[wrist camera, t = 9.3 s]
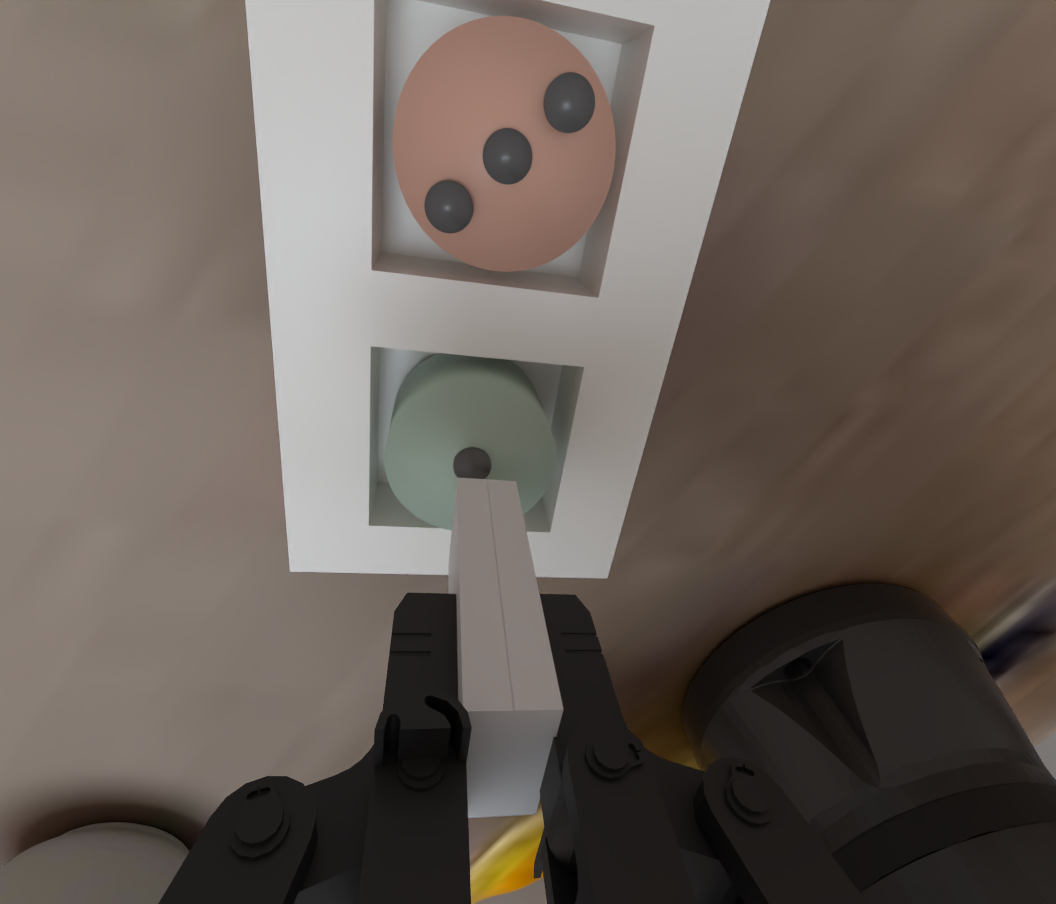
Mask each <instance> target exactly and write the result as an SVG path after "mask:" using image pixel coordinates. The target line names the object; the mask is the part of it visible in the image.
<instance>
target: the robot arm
mask: <svg viewBox="0 0 1056 904" xmlns="http://www.w3.org/2000/svg"><path fill="white" fill-rule="evenodd" d="M601 651H602V650H601V646H600V643H599V640H598V637H596V630H595V627H594V624H593V621H592V617H591V614H590V612H589V611H588V610H587V608H586V607H585V606H584V605H583V604H582V602H581V601H580V600H579V599H578V598H577V596H576V595H561V594H539V589H538V584H537V580H536V575H535V570H534V565H533V560H532V556H531V551H530V546H529V541H528V536H527V531H526V527H525V522H524V517H523V512H522V507H521V503H520V498H519V493H518V488H517V483H516V481H507V480H490V479H473V478H457V482H456V492H455V502H454V512H453V523H452V533H451V543H450V553H449V563H448V594H439V593H407V594H406V595H405V597H404V598H403V600H402V601H401V603H400V604H399V606H398V607H397V608H396V610H395V611H394V620H393V628H392V637H391V645H390V655H389V662H388V670H387V679H386V687H385V696H384V704H383V711H382V712H381V713H380V716H379V719H378V722H377V725H376V728H375V736H374V745H373V746H372V748H371V749H370V751H369V752H368V753H367V754H366V755H365V756H364V757H363V759H362V760H360V761H359V762H358V763H356V764H355V765H354V766H352V767H351V768H350V769H348V770H345V771H343V772H341V773H339V774H337V775H335V776H332V777H329V778H327V779H324V780H321V781H318V782H316V783H313V784H310V785H307V786H304V784H303V783H301V782H298V781H296V780H294V779H292V778H289V777H287V776H266V777H263V778H261V779H258V780H255V781H252V782H249V783H246V784H245V785H243V786H242V787H240V788H239V789H238V790H236V791H235V792H233V793H232V794H230V795H229V796H228V797H226V798H225V800H224V801H223V802H222V803H221V804H220V806H219V807H218V808H217V809H216V811H215V812H214V813H213V814H212V815H211V817H210V818H209V820H208V822H207V823H206V825H205V827H204V828H203V830H202V832H201V833H200V835H199V837H198V838H197V840H196V842H195V843H194V845H193V847H192V848H191V850H190V852H189V853H188V855H187V857H186V858H185V860H184V862H183V863H182V865H181V867H180V868H179V870H178V872H177V873H176V875H175V877H174V878H173V880H172V882H171V883H170V885H169V887H168V888H167V890H166V892H165V893H164V895H163V897H162V898H161V900H160V902H159V903H158V904H471V891H470V860H469V829H468V818H477V817H496V816H515V815H533V814H536V812H537V809H538V805H539V801H540V798H541V805H542V812H543V819H544V826H545V827H544V830H543V834H542V837H541V841H540V845H539V848H538V852H537V855H536V859H535V863H534V878H540V877H541V874H542V870H543V875H544V883H545V890H546V897H547V904H1056V780H1055V778H1054V777H1053V776H1052V775H1051V774H1050V772H1049V771H1048V770H1047V768H1046V767H1045V766H1044V764H1043V762H1042V761H1041V759H1040V757H1039V756H1038V754H1037V752H1036V750H1035V749H1034V747H1033V745H1032V743H1031V742H1030V740H1029V738H1028V736H1027V735H1026V733H1025V731H1024V729H1023V728H1022V726H1021V724H1020V722H1019V721H1018V719H1017V717H1016V716H1015V714H1014V712H1013V710H1012V709H1011V707H1010V705H1009V704H1008V702H1007V701H1006V699H1005V697H1004V696H1003V694H1002V692H1001V691H1000V689H999V687H998V686H997V684H996V683H995V681H994V680H993V678H992V676H991V675H990V673H989V672H988V670H987V669H986V666H985V664H984V661H983V658H982V656H981V653H980V651H979V649H978V647H977V645H976V644H975V642H974V641H973V640H972V639H971V637H970V636H969V635H968V634H967V633H966V631H964V630H963V629H962V628H961V627H960V626H959V625H958V624H957V623H956V622H955V621H954V620H953V619H952V618H951V617H950V616H949V615H947V614H946V613H945V612H944V611H943V610H942V609H941V608H940V607H939V606H938V605H937V604H936V603H935V602H933V601H932V600H931V599H930V598H928V597H927V596H925V595H923V594H921V593H919V592H917V591H915V590H912V589H909V588H906V587H901V586H897V585H889V584H855V585H848V586H842V587H836V588H831V589H827V590H823V591H820V592H816V593H813V594H810V595H807V596H804V597H801V598H798V599H796V600H793V601H791V602H788V603H786V604H784V605H782V606H780V607H777V608H776V609H774V610H772V611H770V612H768V613H766V614H764V615H762V616H761V617H759V618H757V619H756V620H754V621H752V622H751V623H749V624H748V625H746V626H745V627H744V628H742V629H741V630H739V631H738V632H737V633H735V634H734V635H733V636H732V637H730V638H729V639H728V640H727V641H726V642H724V643H723V644H722V645H721V646H720V647H719V648H718V649H717V650H716V651H715V652H714V653H713V654H712V655H711V656H710V657H709V659H708V660H707V661H706V662H705V663H704V665H703V666H702V667H701V668H700V670H699V671H698V673H697V674H696V676H695V678H694V679H693V681H692V683H691V685H690V687H689V689H688V691H687V694H686V697H685V700H684V704H683V711H682V721H683V727H684V731H685V734H686V736H687V739H688V741H689V743H690V746H691V748H692V751H693V753H694V756H695V758H696V761H697V763H698V765H699V767H700V769H701V770H697V769H694V768H690V767H687V766H684V765H680V764H677V763H674V762H670V761H668V760H665V759H663V758H660V757H658V756H656V755H654V754H653V753H651V752H650V751H648V750H647V749H645V748H644V746H643V744H642V742H641V741H640V740H639V739H638V738H637V737H636V736H635V735H634V734H633V733H632V732H631V731H630V730H628V729H627V726H626V724H625V722H624V720H623V717H622V714H621V711H620V708H619V704H618V701H617V698H616V695H615V692H614V688H613V685H612V682H611V679H610V675H609V672H608V669H607V666H606V662H605V659H604V656H603V654H602V653H601Z"/></svg>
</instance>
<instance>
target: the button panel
mask: <svg viewBox="0 0 1056 904" xmlns="http://www.w3.org/2000/svg"><path fill="white" fill-rule="evenodd" d="M245 2H246V15H247V28H248V40H249V53H250V66H251V79H252V92H253V104H254V117H255V130H256V143H257V156H258V168H259V181H260V194H261V207H262V220H263V232H264V245H265V258H266V271H267V284H268V296H269V309H270V322H271V335H272V348H273V361H274V373H275V386H276V399H277V412H278V425H279V437H280V450H281V463H282V476H283V489H284V501H285V514H286V527H287V540H288V553H289V565H290V572H336V573H381V574H427V575H448V563H449V553H450V543H451V533H452V530H447V529H443V528H440V527H436V526H434V525H431V524H429V523H427V522H425V521H423V520H421V519H420V518H418V517H416V516H415V515H414V514H412V513H411V512H410V511H408V510H407V509H406V508H405V507H404V506H403V505H402V504H401V502H400V501H399V500H398V499H397V497H396V496H395V494H394V492H393V491H392V489H391V487H390V484H389V482H388V479H387V476H386V471H385V460H384V458H385V448H386V443H387V438H388V433H389V428H390V423H391V417H392V412H393V407H394V403H395V399H396V395H397V393H398V391H399V388H400V386H401V385H402V383H403V381H404V380H405V378H406V377H407V376H408V375H409V373H410V372H411V371H412V370H413V369H414V368H416V367H417V366H418V365H419V364H420V363H422V362H423V361H425V360H426V359H428V358H430V357H432V356H434V355H436V354H439V353H445V354H455V355H465V356H476V357H486V358H496V359H507V360H510V361H512V362H513V363H515V364H516V365H517V366H518V367H519V368H521V369H522V371H523V372H524V373H525V374H526V375H527V376H528V378H529V379H530V380H531V382H532V384H533V385H534V387H535V389H536V392H537V394H538V397H539V400H540V403H541V405H542V408H543V411H544V413H545V416H546V419H547V422H548V424H549V427H550V430H551V433H552V436H553V438H554V442H555V448H556V463H555V470H554V474H553V477H552V480H551V482H550V484H549V487H548V488H547V490H546V492H545V493H544V495H543V496H542V497H541V499H540V500H539V501H538V502H537V503H536V504H535V505H534V506H533V507H532V508H531V509H530V510H529V511H528V512H526V513H525V514H524V515H523V517H524V522H525V527H526V531H527V536H528V541H529V546H530V551H531V556H532V560H533V565H534V570H535V575H536V577H563V578H608V574H609V571H610V567H611V564H612V560H613V557H614V553H615V549H616V546H617V542H618V539H619V535H620V532H621V528H622V525H623V521H624V518H625V514H626V510H627V507H628V503H629V500H630V496H631V493H632V489H633V486H634V482H635V479H636V475H637V472H638V468H639V464H640V461H641V457H642V454H643V450H644V447H645V443H646V440H647V436H648V433H649V429H650V425H651V422H652V418H653V415H654V411H655V408H656V404H657V401H658V397H659V394H660V390H661V386H662V383H663V379H664V376H665V372H666V369H667V365H668V362H669V358H670V355H671V351H672V347H673V344H674V340H675V337H676V333H677V330H678V326H679V323H680V319H681V316H682V312H683V308H684V305H685V301H686V298H687V294H688V291H689V287H690V284H691V280H692V277H693V273H694V269H695V266H696V262H697V259H698V255H699V252H700V248H701V245H702V241H703V238H704V234H705V230H706V227H707V223H708V220H709V216H710V213H711V209H712V206H713V202H714V199H715V195H716V192H717V188H718V184H719V181H720V177H721V174H722V170H723V167H724V163H725V160H726V156H727V153H728V149H729V145H730V142H731V138H732V135H733V131H734V128H735V124H736V121H737V117H738V114H739V110H740V106H741V103H742V99H743V96H744V92H745V89H746V85H747V82H748V78H749V75H750V71H751V67H752V64H753V60H754V57H755V53H756V50H757V46H758V43H759V39H760V36H761V32H762V28H763V25H764V21H765V18H766V14H767V11H768V7H769V4H770V0H245ZM490 16H512V17H520V18H525V19H528V20H531V21H535V22H538V23H540V24H542V25H544V26H546V27H548V28H551V29H553V30H554V31H556V32H557V33H559V34H560V35H561V36H563V37H564V38H566V39H567V40H568V41H569V42H570V43H571V44H573V45H574V46H575V47H576V48H577V49H578V50H579V51H580V52H581V53H582V55H583V56H584V57H585V58H586V60H587V61H588V62H589V63H590V65H591V66H592V68H593V69H594V71H595V73H596V74H597V76H598V77H599V80H600V82H601V84H602V86H603V88H604V90H605V92H606V95H607V98H608V101H609V104H610V108H611V112H612V117H613V122H614V128H615V140H616V150H615V164H614V171H613V176H612V180H611V184H610V188H609V191H608V194H607V197H606V199H605V202H604V204H603V206H602V208H601V210H600V212H599V214H598V216H597V218H596V219H595V221H594V222H593V224H592V225H591V227H590V228H589V230H588V231H587V232H586V233H585V234H584V235H583V236H582V238H581V239H580V240H579V241H578V242H577V243H576V244H575V245H573V246H572V247H571V248H570V249H569V250H568V251H566V252H565V253H563V254H562V255H560V256H559V257H557V258H556V259H554V260H552V261H550V262H548V263H546V264H543V265H540V266H538V267H535V268H531V269H527V270H522V271H513V272H500V271H491V270H486V269H481V268H478V267H475V266H472V265H469V264H467V263H465V262H462V261H460V260H458V259H456V258H455V257H453V256H452V255H450V254H449V253H447V252H446V251H444V250H443V249H442V248H441V247H439V246H438V245H437V244H436V243H435V242H434V241H433V240H432V239H431V238H430V237H429V236H428V235H427V234H426V233H425V232H424V231H423V229H422V228H421V227H420V225H419V224H418V222H417V221H416V219H415V218H414V217H413V215H412V213H411V211H410V209H409V207H408V206H407V204H406V201H405V199H404V196H403V194H402V191H401V189H400V186H399V182H398V179H397V175H396V171H395V164H394V158H393V126H394V118H395V113H396V108H397V104H398V101H399V98H400V95H401V92H402V89H403V86H404V84H405V82H406V80H407V78H408V76H409V74H410V72H411V70H412V69H413V67H414V66H415V64H416V63H417V62H418V60H419V59H420V57H421V56H422V55H423V54H424V53H425V52H426V50H427V49H428V48H429V47H430V46H431V45H432V44H433V43H434V42H436V41H437V40H438V39H439V38H441V37H442V36H443V35H444V34H446V33H447V32H449V31H451V30H452V29H454V28H456V27H458V26H459V25H462V24H464V23H467V22H470V21H472V20H475V19H480V18H485V17H490Z"/></svg>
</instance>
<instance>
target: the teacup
mask: <svg viewBox="0 0 1056 904" xmlns="http://www.w3.org/2000/svg"><path fill="white" fill-rule="evenodd" d="M188 853H189V850H188V849H187V848H186V846H185V845H184V844H183V843H182V842H181V841H179V840H178V839H177V838H176V837H174V836H173V835H171V834H169V833H167V832H165V831H163V830H160V829H157V828H155V827H152V826H147V825H142V824H136V823H128V822H106V823H98V824H92V825H87V826H84V827H80V828H77V829H74V830H71V831H69V832H67V833H64V834H63V835H61V836H58V837H55V838H53V839H50V840H47V841H44V842H42V843H40V844H37V845H35V846H33V847H31V848H29V849H27V850H26V851H24V852H22V853H20V854H19V855H17V856H16V857H14V858H13V859H11V860H10V861H9V862H7V863H6V864H5V865H4V866H3V867H2V868H0V904H158V903H159V902H160V900H161V898H162V897H163V895H164V893H165V892H166V890H167V888H168V887H169V885H170V883H171V882H172V880H173V878H174V877H175V875H176V873H177V872H178V870H179V868H180V867H181V865H182V863H183V862H184V860H185V858H186V857H187V855H188Z"/></svg>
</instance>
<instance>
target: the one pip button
mask: <svg viewBox="0 0 1056 904" xmlns="http://www.w3.org/2000/svg"><path fill="white" fill-rule="evenodd" d="M384 460H385V471H386V476H387V479H388V482H389V484H390V487H391V489H392V491H393V492H394V494H395V496H396V497H397V499H398V500H399V501H400V502H401V504H402V505H403V506H404V507H405V508H406V509H407V510H408V511H410V512H411V513H412V514H414V515H415V516H416V517H418V518H420V519H421V520H423V521H425V522H427V523H429V524H431V525H434V526H436V527H440V528H443V529H447V530H452V523H453V512H454V502H455V492H456V482H457V478H473V479H490V480H507V481H516V483H517V488H518V493H519V498H520V503H521V507H522V512H523V515H524V514H525V513H526V512H528V511H529V510H530V509H531V508H532V507H533V506H534V505H535V504H536V503H537V502H538V501H539V500H540V499H541V497H542V496H543V495H544V493H545V492H546V490H547V488H548V487H549V484H550V482H551V480H552V477H553V474H554V470H555V463H556V448H555V442H554V438H553V436H552V433H551V430H550V427H549V424H548V422H547V419H546V416H545V413H544V411H543V408H542V405H541V403H540V400H539V397H538V394H537V392H536V389H535V387H534V385H533V384H532V382H531V380H530V379H529V378H528V376H527V375H526V374H525V373H524V372H523V371H522V369H521V368H519V367H518V366H517V365H516V364H515V363H513V362H512V361H510V360H507V359H496V358H486V357H476V356H465V355H455V354H445V353H439V354H436V355H434V356H432V357H430V358H428V359H426V360H425V361H423V362H422V363H420V364H419V365H418V366H417V367H416V368H414V369H413V370H412V371H411V372H410V373H409V375H408V376H407V377H406V378H405V380H404V381H403V383H402V385H401V386H400V388H399V391H398V393H397V395H396V399H395V403H394V407H393V412H392V417H391V423H390V428H389V433H388V438H387V443H386V448H385V458H384Z"/></svg>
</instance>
